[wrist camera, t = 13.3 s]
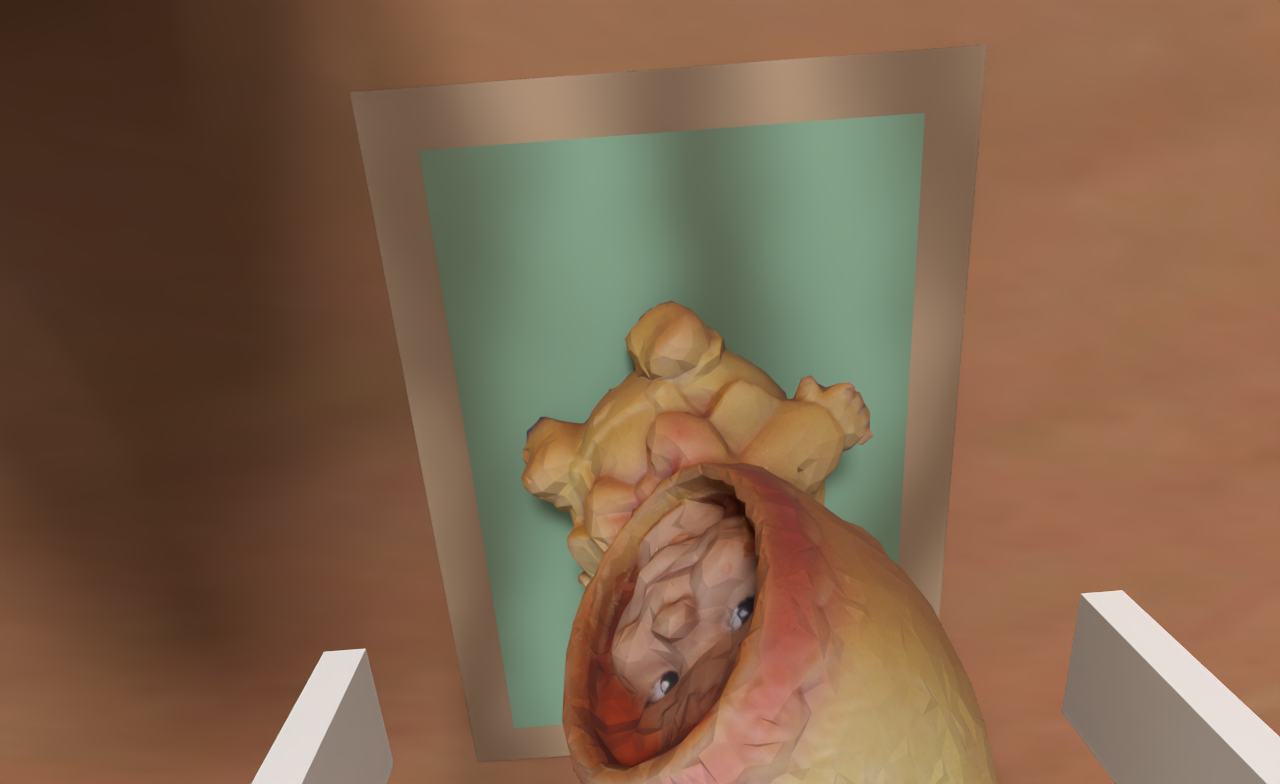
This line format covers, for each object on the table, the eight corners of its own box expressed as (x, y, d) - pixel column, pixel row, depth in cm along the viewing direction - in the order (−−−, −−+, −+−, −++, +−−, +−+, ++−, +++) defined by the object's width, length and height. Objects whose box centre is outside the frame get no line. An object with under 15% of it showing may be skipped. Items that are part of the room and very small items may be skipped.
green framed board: (483, 735, 27) (476, 764, 26) (365, 94, 20) (348, 92, 18) (917, 704, 27) (930, 731, 26) (966, 48, 20) (989, 44, 18)
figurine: (682, 229, 20) (1079, 685, 7) (852, 372, 23) (1325, 854, 10) (464, 486, 22) (465, 1165, 10) (646, 582, 26) (826, 1175, 13)
